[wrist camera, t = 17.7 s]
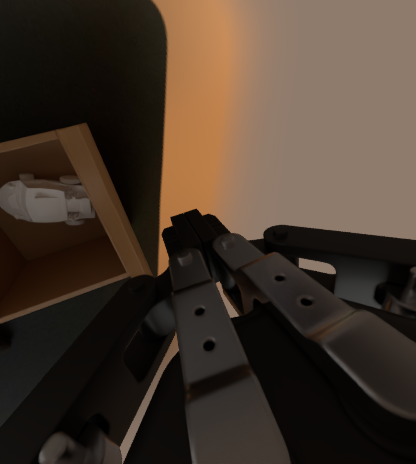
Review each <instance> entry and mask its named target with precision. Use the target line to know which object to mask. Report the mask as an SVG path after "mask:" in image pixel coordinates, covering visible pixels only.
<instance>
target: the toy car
mask: <svg viewBox="0 0 416 464" xmlns="http://www.w3.org/2000/svg"><path fill="white" fill-rule="evenodd" d="M19 178H20V179H21V180H17V181H11V182H8V183H6V184H5V185H4V186H3V187H1V188H0V207H1V208H2V209H3V210H5V211H6V212H7V213H9V214H11V215H12V216H14V217H15V218H16V219H22V220H27V221H29V222H41V223H47V222H61V221H65V223H66V224H68V225H81V224H84V223H85V221H86V219H85V218H95V209H94V207H93V205H92V203H91V201H90V199H89V197H88V195H87V193H86V191H85V189H84V187H83V185H73V184H79V183H81V181H80V179H79V177H78V176H75V175H65V176H61V177H60V178H59V179H60V181H55V180H45V179H34V175H33V174H29V173H22V174H19Z"/></svg>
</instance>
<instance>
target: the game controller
mask: <svg viewBox="0 0 416 464" xmlns="http://www.w3.org/2000/svg"><path fill="white" fill-rule="evenodd" d="M11 345H12V342H11V340H10V339H8V338H6V337H3V336H0V356H1V355H3V354H5V353H6V352H8V351H9V349H10V348H11Z"/></svg>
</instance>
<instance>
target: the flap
mask: <svg viewBox="0 0 416 464" xmlns="http://www.w3.org/2000/svg"><path fill="white" fill-rule="evenodd" d="M58 132H59V134H60V136H61V138H62V140H63V142H64V144H65V146H66V148H67V150H68V152H69V154H70V156H71V158H72V160H73V162H74V164H75V166H76V168H77V170H78V172H79V174H80V176H81V178H82V180H83V182H84V184H85V186H86V188H87V190H88V192H89V194H90V196H91V198H92V200H93V202H94V204H95V206H96V208H97V210H98V212H99V214H100V216H101V218H102V220H103V222H104V224H105V226H106V228H107V230H108V232H109V234H110V236H111V238H112V240H113V242H114V244H115V246H116V248H117V250H118V252H119V254H120V256H121V258H122V260H123V262H124V264H125V266H126V268H127V270H128V272H129V274H130V276H131V278H133V277H135V276H138V275H144V274H146V275H151V276H153V275H152V273H151V271H150V268H149V266H148V264H147V261H146V259H145V257H144V254H143V252H142V250H141V248H140V245H139V243H138V241H137V238H136V236H135V234H134V231H133V229H132V227H131V224H130V222H129V220H128V218H127V215H126V213H125V211H124V208H123V206H122V204H121V201H120V199H119V197H118V194H117V192H116V190H115V188H114V185H113V183H112V181H111V178H110V176H109V174H108V171H107V169H106V167H105V164H104V162H103V160H102V158H101V155H100V153H99V151H98V148H97V146H96V144H95V141H94V139H93V137H92V134H91V132H90V130H89V128H88V125H87V123H82V124H78V125H74V126H71V127H67V128H64V129H60V130H58Z"/></svg>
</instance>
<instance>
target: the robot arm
mask: <svg viewBox="0 0 416 464" xmlns="http://www.w3.org/2000/svg"><path fill="white" fill-rule="evenodd" d="M171 221H172V225H173V226H171V227H168V228H165V229H164V230H163V232H162V237H163V241H164V243H165V247H166V250H167V253H168V256H169V267H168V268H167V270H166V271H165V272H164V273H162V274H161V275H159V276H158V277H156V278H155V279H154V277H153V276H151V275H146V274H144V275H138V276H135V277H133V278H131V279H129V280H128V281H127V282H125V283H124V284H123V285H122V286H121V288H120V289H119V290H118V291H117V292H116V293H115V295H114V296H113V297H112V298H111V299H110V300H109V302H108V303H107V304H106V305H105V306H104V307H103V309H102V310H101V311H100V312H99V313H98V314H97V316H96V317H95V318H94V319H93V320H92V321H91V323H90V324H89V325H88V326H87V327H86V328H85V330H84V331H83V332H82V333H81V334H80V335H79V337H78V338H77V339H76V340H75V341H74V342H73V344H72V345H71V346H70V347H69V348H68V349H67V351H66V352H65V353H64V354H63V355H62V356H61V358H60V359H59V360H58V361H57V362H56V363H55V365H54V366H53V367H52V368H51V369H50V370H49V372H48V373H47V374H46V375H45V376H44V377H43V379H42V380H41V381H40V382H39V383H38V384H37V386H36V387H35V388H34V389H33V390H32V391H31V393H30V394H29V395H28V396H27V397H26V398H25V400H24V401H23V402H22V403H21V404H20V405H19V407H18V408H17V409H16V410H15V411H14V412H13V414H12V415H11V416H10V417H9V418H8V419H7V421H6V422H5V423H4V424H3V425H2V426H1V428H0V464H122V455H121V451H120V448H119V447H120V446H121V443H122V441H123V439H124V437H125V435H126V433H127V431H128V429H129V427H130V425H131V423H132V421H133V419H134V417H135V415H136V413H137V411H138V409H139V407H140V405H141V403H142V401H143V399H144V397H145V395H146V393H147V391H148V389H149V386H150V385H151V382H152V381H153V379H154V376H155V375H156V372H157V370H158V368H159V366H160V364H161V362H162V360H163V358H164V356H165V354H166V352H167V350H168V348H169V346H170V344H171V342H172V340H173V338H174V336H175V332H176V333H177V340H178V346H179V351H178V352H177V353H176V355H175V356H174V357H173V358H172V359H171V361H170V362H169V364H168V365H167V367H166V368H165V370H164V372H163V374H162V376H161V378H160V380H159V383H158V385H157V387H156V390H155V392H154V394H153V396H152V399H151V401H150V403H149V406H148V408H147V410H146V412H145V415H144V417H143V419H142V422H141V424H140V426H139V428H138V431H137V433H136V436H135V438H134V440H133V442H132V444H131V447H130V449H129V451H128V453H127V456H126V458H125V461H124V463H123V464H416V240H411V239H401V238H393V237H385V236H376V235H366V234H359V233H350V232H341V231H332V230H323V229H314V228H306V227H297V226H289V225H276V226H272V227H270V228H268V229H267V230H265V231H264V234H263V236H264V239H257V240H249V241H248V240H246V239H245V238H244V237H243V236H241V235H239V234H236V233H230V231H228V229H227V228H226V227H225V226H224V225H223V224H222V223H221V222H220V221H219V220H218V219H217V218H216V216H213V215H211V214H206V215H203V216H202V215H201V213H200V212H199V211H198V210H197V209H194V210H191V211H188V212H185V213H184V214H183V213H182V214H179V215H176V216H173V217H171ZM299 258H304V259H309V260H315V261H320V262H325V263H328V264H331V265H332V266H333V267H334V268H335V270H336V274H327V273H322V272H317V271H313V270H308V269H303V268H299ZM219 281H220V283H221V284H222V289H223V293H224V295H225V296H226V298H227V299H228V300H229V302H230V303H231V305H232V306H233V308H234V309H235V310H236V312H237V313H238V315H239V316H238V317H233V318H230V316H229V314H228V312H227V309H226V307H225V305H224V302H223V300H222V298H221V295H220V293H219V290H218V288H217V286H216V283H217V282H219ZM137 329H138V332H137V333H136V331H137ZM135 333H136V335H135V336H134V334H135ZM133 336H134V338H133V340H132V341H131V343H130V344H129V346H128V347H127V349H126V346H127V345H128V343H129V342H130V340H131V339H132V337H133ZM125 349H126V350H125ZM124 351H125V352H124Z"/></svg>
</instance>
